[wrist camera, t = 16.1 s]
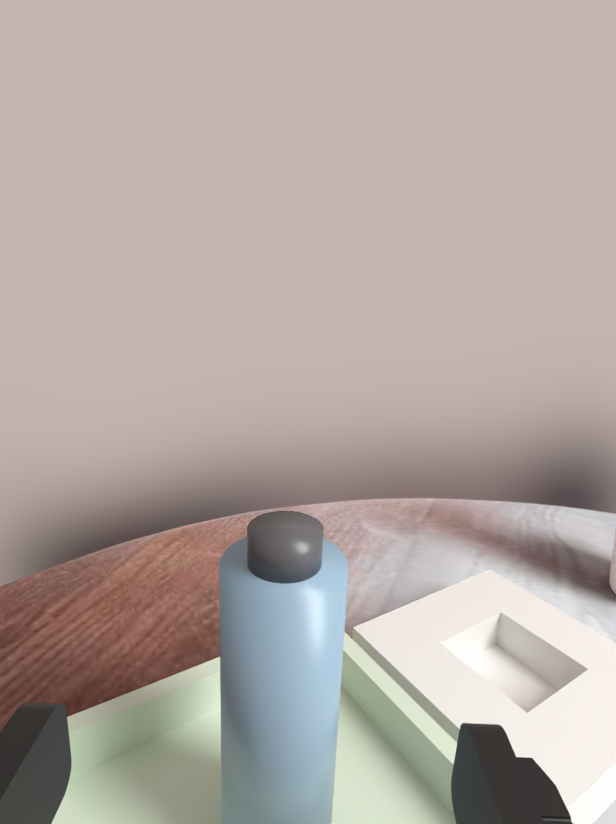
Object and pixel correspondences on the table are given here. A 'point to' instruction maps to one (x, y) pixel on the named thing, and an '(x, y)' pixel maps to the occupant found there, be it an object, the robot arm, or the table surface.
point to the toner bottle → (280, 671)
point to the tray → (201, 753)
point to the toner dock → (510, 678)
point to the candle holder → (613, 567)
